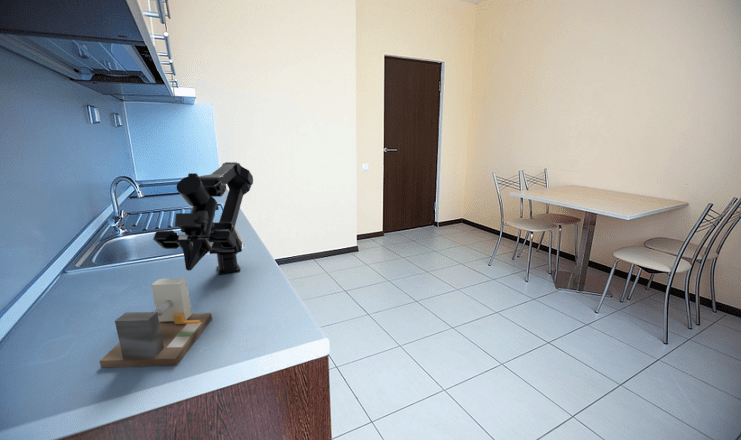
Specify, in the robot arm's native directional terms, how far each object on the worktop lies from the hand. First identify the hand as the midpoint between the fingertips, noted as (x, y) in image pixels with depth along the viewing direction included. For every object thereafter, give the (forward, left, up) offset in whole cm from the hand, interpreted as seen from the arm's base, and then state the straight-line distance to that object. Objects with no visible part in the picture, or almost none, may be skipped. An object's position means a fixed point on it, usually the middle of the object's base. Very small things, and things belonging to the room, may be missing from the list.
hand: (188, 269), depth 83 cm
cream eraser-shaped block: (+9, -5, -8) cm, 13 cm away
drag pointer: (+11, -2, -8) cm, 14 cm away
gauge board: (+13, -7, -10) cm, 18 cm away
